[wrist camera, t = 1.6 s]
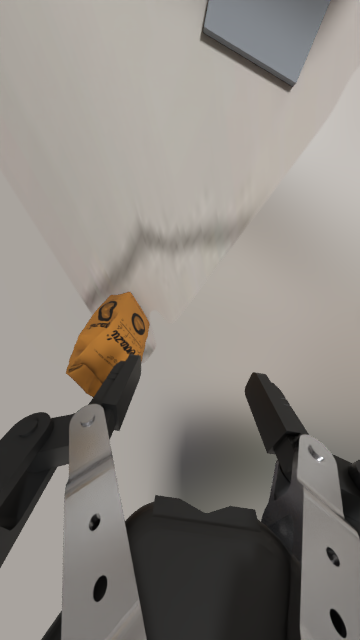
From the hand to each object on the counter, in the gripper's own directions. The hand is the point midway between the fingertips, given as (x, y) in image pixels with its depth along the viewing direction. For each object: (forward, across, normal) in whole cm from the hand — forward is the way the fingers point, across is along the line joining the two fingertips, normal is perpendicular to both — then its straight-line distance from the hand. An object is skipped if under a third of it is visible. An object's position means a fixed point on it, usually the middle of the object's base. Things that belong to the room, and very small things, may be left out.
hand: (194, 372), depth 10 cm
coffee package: (+27, +16, +9) cm, 33 cm away
